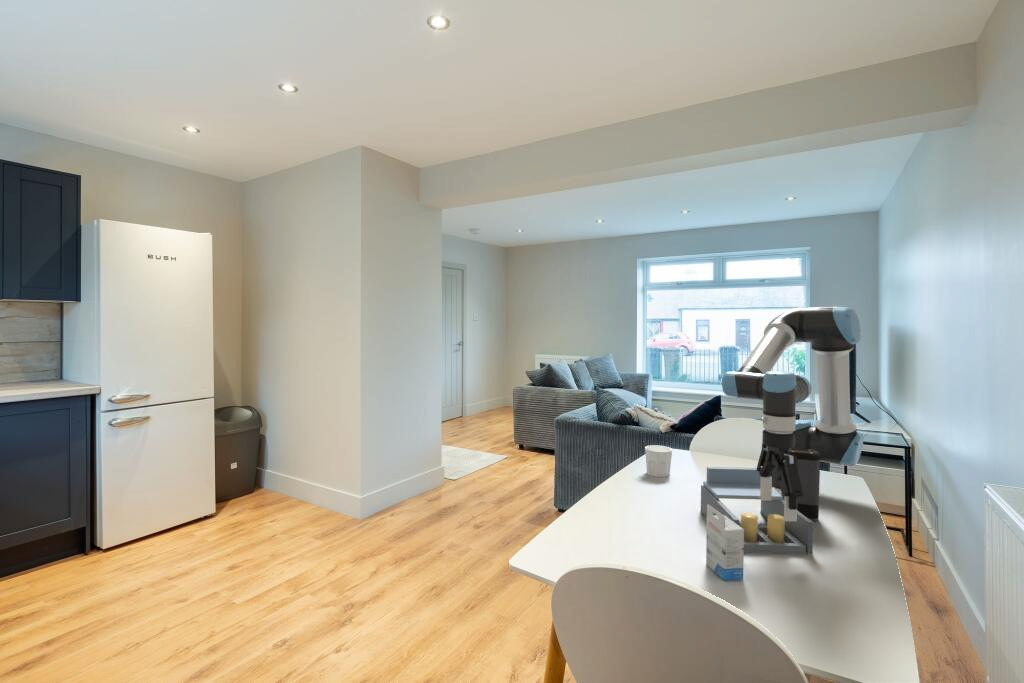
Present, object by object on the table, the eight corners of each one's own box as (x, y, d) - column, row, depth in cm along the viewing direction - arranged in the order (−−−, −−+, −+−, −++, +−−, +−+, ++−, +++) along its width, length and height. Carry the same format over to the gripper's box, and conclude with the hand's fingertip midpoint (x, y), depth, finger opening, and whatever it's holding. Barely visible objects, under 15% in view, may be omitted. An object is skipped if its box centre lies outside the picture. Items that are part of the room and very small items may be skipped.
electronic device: (814, 514, 147) (816, 449, 147) (819, 522, 142) (821, 454, 141) (780, 510, 150) (781, 446, 150) (783, 517, 145) (785, 451, 144)
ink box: (744, 581, 109) (745, 516, 109) (723, 581, 109) (724, 517, 108) (724, 562, 118) (725, 502, 117) (705, 563, 117) (706, 503, 117)
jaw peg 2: (779, 540, 130) (780, 514, 130) (787, 546, 126) (787, 520, 126) (764, 539, 130) (764, 513, 130) (771, 546, 126) (771, 519, 126)
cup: (675, 478, 182) (675, 451, 182) (648, 477, 182) (649, 451, 182) (667, 470, 192) (667, 445, 192) (641, 469, 192) (642, 445, 192)
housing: (764, 513, 148) (765, 486, 148) (812, 554, 122) (813, 522, 121) (700, 511, 150) (701, 485, 149) (733, 551, 123) (734, 519, 123)
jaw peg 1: (753, 538, 130) (753, 513, 130) (759, 545, 127) (760, 519, 126) (738, 538, 131) (738, 512, 131) (744, 545, 127) (744, 518, 127)
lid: (763, 485, 148) (763, 468, 148) (782, 500, 136) (783, 480, 136) (703, 484, 149) (703, 466, 149) (716, 498, 137) (717, 479, 137)
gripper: (744, 420, 140) (743, 492, 141) (787, 442, 115) (786, 530, 116) (771, 420, 139) (770, 492, 140) (820, 443, 114) (818, 530, 115)
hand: (777, 509), depth 128 cm, fingers open, 13 cm apart
